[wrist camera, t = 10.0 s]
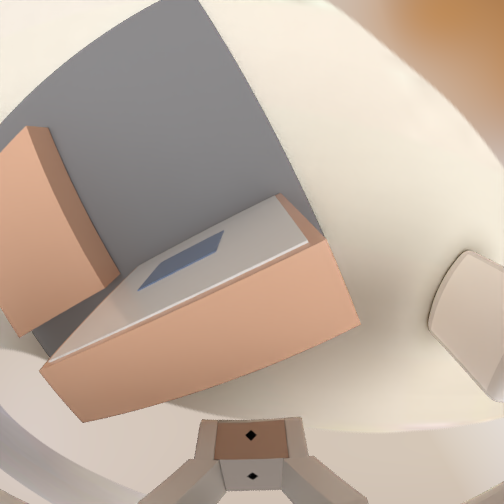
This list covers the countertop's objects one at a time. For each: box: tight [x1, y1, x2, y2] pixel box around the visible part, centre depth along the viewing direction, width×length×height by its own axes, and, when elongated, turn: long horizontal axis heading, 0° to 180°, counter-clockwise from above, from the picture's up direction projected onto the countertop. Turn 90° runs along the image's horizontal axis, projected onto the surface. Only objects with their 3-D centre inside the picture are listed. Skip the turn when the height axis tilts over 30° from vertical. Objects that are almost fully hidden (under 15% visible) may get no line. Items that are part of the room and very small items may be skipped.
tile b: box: [39, 193, 361, 423], centre depth 11 cm, size 8×2×9 cm, turn 117°
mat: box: [0, 0, 324, 357], centre depth 14 cm, size 19×15×1 cm
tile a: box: [0, 126, 120, 338], centre depth 14 cm, size 8×2×9 cm
